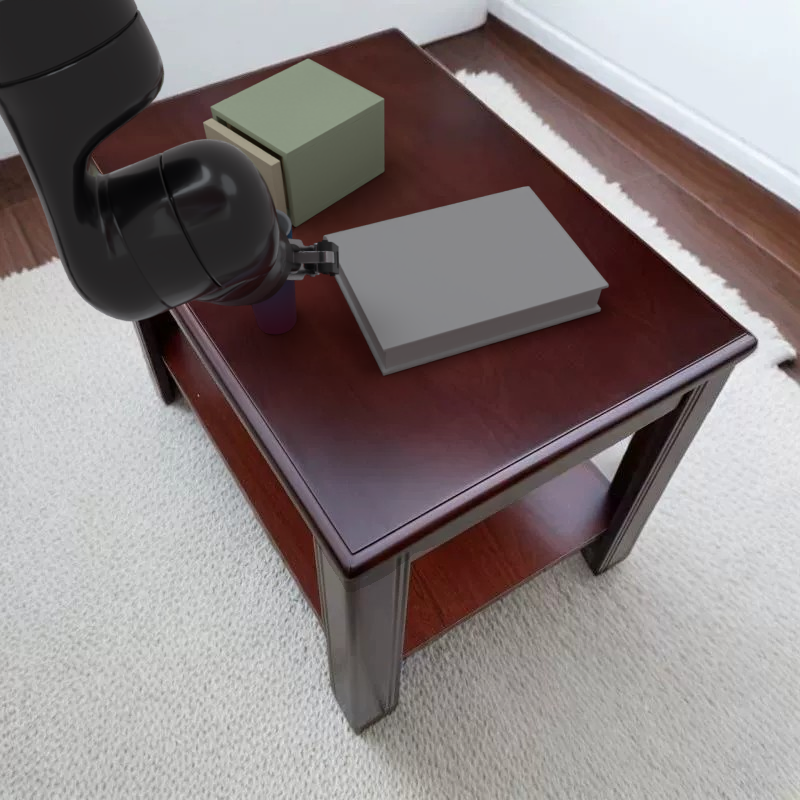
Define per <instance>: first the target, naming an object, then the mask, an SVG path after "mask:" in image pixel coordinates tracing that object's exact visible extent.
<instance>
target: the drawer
mask: <svg viewBox="0 0 800 800" xmlns="http://www.w3.org/2000/svg"><path fill="white" fill-rule="evenodd" d="M226 123H227V122H226ZM202 124H203V128H204V133H205V139H215V140H221V141H225V142H228V143H230V144H232V145H234V146H236V147H237V148H239V149H240V150H241V151H242V152H244V153H245V154H246V155H247V156H248V157H249V158H250V159H251V160H252V162H253V163H254V164H255V165H256V167H257V168H258V170H259V171H260V173H261V174H262V176H263V178H264V179H265V181H266V183H267V185H268V188H269V190H270V193H271V195H272V198H273V201H274V204H275V208H276V209H278V210H280V211H282V212H284V213H285V214H286V215H287V210H286V207H288V208H289V202H288V194H287V186H286V179H285V171H284V163H283V157H282V156H280V155H279V154H277V153H275V152H274V151H272V150H271V149H269V148H267V147H266V146H264V145H263V144H261V143H259V142H258V141H256V140H255V139H253V138H251V137H250V136H248V135H246V134H245V133H243V132H242V131H240V130H238V129H237V128H235V127H234V126H232V125H230V124H229V123H227V127H225V126H223V125H222V124H220V123H219V122H217V121H215V120H214V119H213V117H211V118H209V119H207V120H205V121H203V122H202Z"/></svg>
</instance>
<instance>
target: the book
mask: <svg viewBox="0 0 800 800" xmlns="http://www.w3.org/2000/svg"><path fill="white" fill-rule="evenodd" d="M322 240H328V242H333V243H335V244H336V245H337V246H339V274H338V275H335V276H334V278H335V281H336V282H337V285H338V286H339V288H340V291H341V293H342V294H343V297H344V299H345V302H346V303H347V305H348V307H349V309H350V311H351V313H352V316H353V317H354V319H355V321H356V323H357V325H358V327H359V330H360V331H361V333H362V335H363V337H364V339H365V341H366V343H367V346H368V347H369V350H370V351H371V354H372V355H373V358H374V359H375V362H376V364H377V366H378V368H379V370H380V372H381V374H382V376H384V377H385V376H388V375H391V374H394V373H398V372H401V371H405V370H407V369H411V368H415V367H418V366H422V365H425V364H429V363H431V362H435V361H438V360H441V359H445V358H448V357H452V356H455V355H459V354H462V353H465V352H468V351H472V350H475V349H479V348H483V347H486V346H489V345H492V344H495V343H499V342H502V341H505V340H509V339H513V338H516V337H519V336H522V335H526V334H529V333H532V332H536V331H540V330H543V329H547V328H549V327H552V326H556V325H559V324H562V323H567V322H570V321H572V320H577V319H580V318H583V317H586V316H591V315H593V314H597V313H600V312H601V310H602V308H601V307H600V305H599V304H598V302H599V299H600V296H601V292H602V290H605V289H607V288H609V286H610V285H609V283H608V282H607V280H606V279H605V278H604V277H603V275H601V273H600V272H599V271H598V269H597V268H596V267H595V266H594V265H593V263H592V262H591V261H590V259H589V258H588V257H587V256H586V255H585V253H584V252H583V251H582V250H581V248H579V246H578V245H577V243H576V242H575V241H574V240H573V239H572V237H571V236H570V235H569V234H568V232H567V231H566V230H565V229H564V227H563V226H562V225H561V224H560V223H559V221H558V220H557V219H556V218H555V216H554V215H553V214H552V212H550V210H549V209H548V208H547V207H546V205H545V203H544V202H543V201H542V200H541V199H540V197H538V195H537V194H536V193H535V191H534V190H533V189H532V188H531V187H530V186H529V185H527V186H522V187H517V188H513V189H509V190H505V191H500V192H497V193H492V194H489V195H484V196H480V197H476V198H472V199H468V200H464V201H460V202H456V203H452V204H447V205H444V206H439V207H435V208H431V209H426V210H422V211H418V212H415V213H410V214H407V215H402V216H398V217H394V218H389V219H385V220H380V221H378V222H374V223H370V224H366V225H365V224H364V225H361V226H357V227H353V228H348V229H345V230H344V229H343V230H340V231H336V232H332V233H328V234H325V235H323V237H322Z"/></svg>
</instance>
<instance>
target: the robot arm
mask: <svg viewBox="0 0 800 800" xmlns="http://www.w3.org/2000/svg"><path fill="white" fill-rule="evenodd" d="M164 82H165V68H164V61H163V59H162V56H161V54H160V51H159V49H158V46H157V44H156V41H155V40H154V37H153V35H152V33H151V31H150V28H149V27H148V25H147V23H146V21H145V19H144V17H143V15H142V13H141V11H140V10H139V9H138V5H137V3H136V1H135V0H0V117H1V119H2V121H3V123H4V125H5V126H6V128H7V130H8V133H9V134H10V136H11V138H12V140H13V142H14V145H15V146H16V149H17V151H18V153H19V155H20V157H21V159H22V161H23V164H24V165H25V168H26V170H27V173H28V175H29V177H30V180H31V182H32V184H33V187H34V189H35V192H36V194H37V196H38V199H39V203H40V205H41V207H42V211H43V213H44V215H45V219H46V223H47V225H48V228H49V231H50V235H51V237H52V240H53V243H54V246H55V249H56V252H57V255H58V258H59V261H60V263H61V266H62V268H63V270H64V272H65V274H66V276H67V280H68V281H69V282H70V284H71V286H72V287H73V289H74V290H75V291H76V294H78V295H79V297H81V299H82V300H84V302H86V304H88V305H90V306H91V307H92V308H94V309H95V310H96V311H98V312H100V313H102V314H104V315H105V316H108V317H110V318H113V319H115V320H118V321H123V322H138V321H145V320H147V319H150V318H153V317H155V316H159V315H160V314H163V313H166V312H168V311H172V310H173V309H176V308H178V307H181V306H182V305H185V304H188V303H191V302H193V301H197V302H202V303H210V304H214V305H218V306H223V307H240V306H241V307H242V306H243V307H244V306H245V307H246V306H252V305H254V304H258V303H261V302H263V301H266V300H267V299H269V298H271V297H272V296H273V295H275V294H276V293H277V292H278V291H279V290H280V289H281V287H282V286H283V285H284V283H285V282H286V281H293V280H295V281H303V280H304V278H305V276H308V277H309V278H316V276H320V274H322V275H327V276H328V275H329V277H335V275H338V274H339V246H337V245H336V244H335V243H333V242H328V240H323V239H322V240H321V241H317V242H314V243H313V244H312V245H311V244H309V245H304V243H303V241H302V240H301V239H298V238H292V239H288V237H287V235H286V234H285V232H284V230H283V229H282V227H281V226H280V225H279V224H278V217H277V212H276V208H275V204H274V201H273V198H272V195H271V193H270V190H269V188H268V185H267V183H266V181H265V179H264V178H263V176H262V174H261V173H260V171H259V170H258V168H257V167H256V165H255V164H254V163H253V162H252V160H251V159H250V158H249V157H248V156H247V155H246V154H245V153H244V152H242V151H241V150H240V149H239V148H237V147H236V146H234V145H232V144H230V143H228V142H225V141H221V140H215V139H207V138H204V139H203V138H202V139H196V140H191V141H188V142H185V143H181V144H178V145H176V146H173V147H171V148H169V149H167V150H164V151H163V152H159V153H157V154H154V155H151V156H149V157H147V158H144V159H141V160H139V161H136V162H134V163H132V164H128V165H126V166H124V167H121V168H119V169H115V170H114V171H111V172H108V173H105V174H102V172H101V171H100V170H99V168H98V167H97V165H96V163H95V160H94V158H93V155H92V154H93V153H94V151H95V150H96V149H97V148H98V147H99V146H100V145H101V144H102V143H104V141H105V140H107V139H108V138H109V137H110V136H111V135H113V134H115V133H116V132H117V131H118V130H120V129H121V128H122V127H124V126H125V125H127V124H128V123H130V122H131V121H132V120H133V119H135V118H136V117H137V116H138V115H139V114H141V113H142V112H143V111H144V110H145V109H147V108H148V107H150V105H151V104H152V103H153V102H154V100H156V98H157V97H158V95H159V94H160V92H161V90H162V87H163V85H164Z"/></svg>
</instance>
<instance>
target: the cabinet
mask: <svg viewBox="0 0 800 800" xmlns="http://www.w3.org/2000/svg"><path fill="white" fill-rule="evenodd" d="M210 112H211V116H212V119H214V120H215V121H217V122H219V123H220V124H222V125H223V126H225V127H227V123H229V124H230V125H232V126H234V127H235V128H237V129H238V130H240V131H242V132H243V133H245V134H246V135H248V136H250V137H251V138H253V139H255V140H256V141H258V142H259V143H261V144H263V145H264V146H266V147H267V148H269V149H271V150H272V151H274V152H275V153H277V154H279V155H280V156H282V157H283V163H284V171H285V179H286V186H287V194H288V202H289V208H288V207H286V210H287V216H288V217H289V218H290V220H291V224H292V227H293V226H294V228H297V227H299V226H300V225H302V224H304V223H306V222H307V221H308V220H309V219H311V218H313V217H315V216H316V215H317V214H319V213H321V212H322V211H324V210H326V209H327V208H329V207H330V206H332V205H334V204H335V203H336V202H338V201H340V200H341V199H343V198H345V197H347V196H348V195H349V194H351V193H353V192H355V191H356V190H357V189H359V188H360V187H361V188H362V186H364V185H365V184H367V183H369V182H370V181H372V180H373V179H375V178H376V177H378V176H379V175H381V174H383V173H384V172H385V98H384V97H382V96H380V95H378V94H376V93H375V92H372V91H371V90H368V89H367V88H365V87H363V86H361V85H359V84H358V83H356V82H354V81H352V80H350V79H348V78H346V77H344V76H342V75H340V74H339V73H336V72H335V71H333V70H331V69H330V68H327V67H325V66H324V65H321V64H320V63H318V62H316V61H314V60H312V59H310V58H306V59H304V60H302V61H300V62H297V63H296V64H294V65H292V66H289V67H287V68H286V69H283V70H282V71H280V72H278V73H275V74H273V75H272V76H270V77H267V78H265V79H264V80H262V81H260V82H259V81H258V83H256V84H253V85H251V86H249V87H247V88H245V89H243V90H241V91H239V92H237V93H235V94H233V95H230V96H229V97H227V98H225V99H223V100H221V101H219V102H216V103H215V104H213V105H211V106H210ZM226 122H227V123H226Z"/></svg>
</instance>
